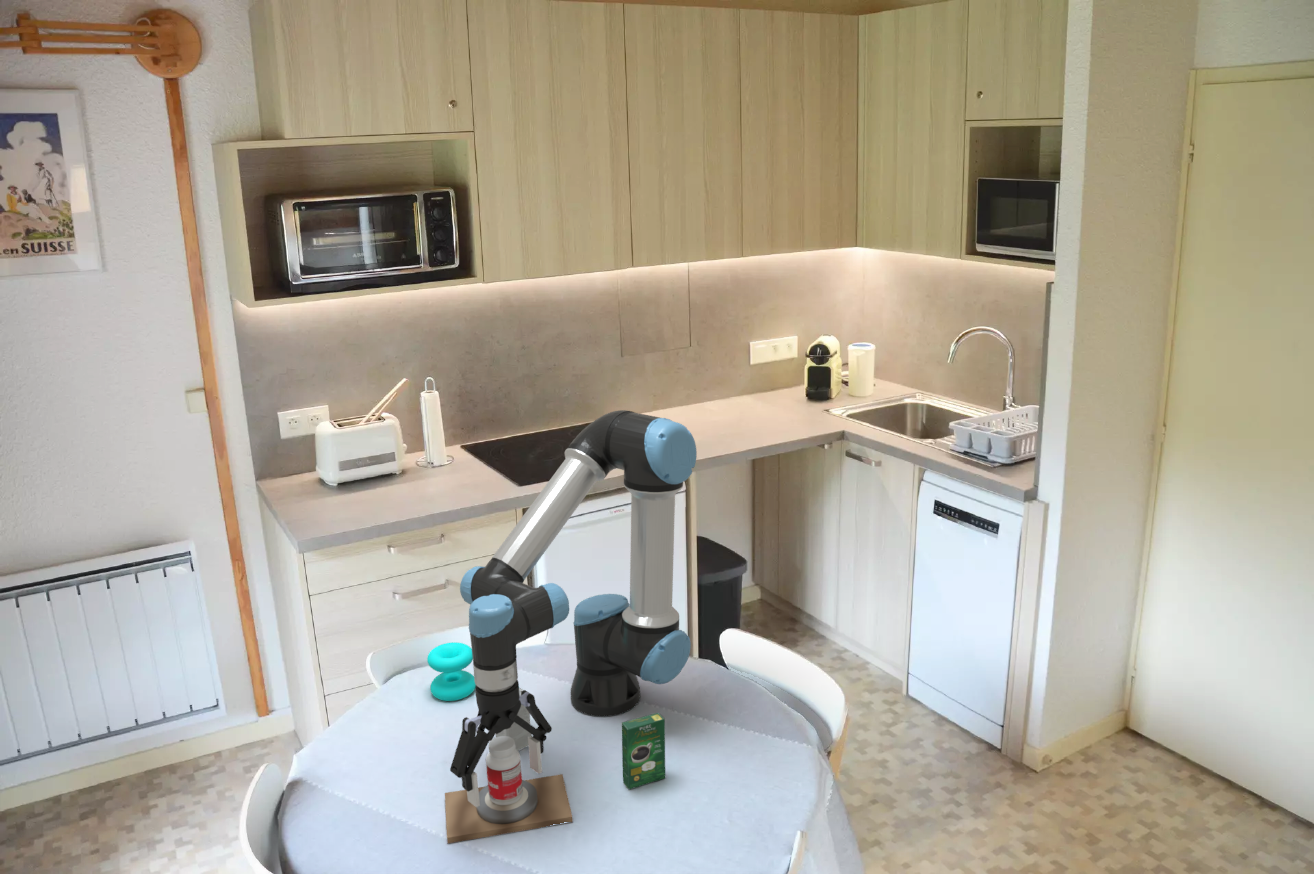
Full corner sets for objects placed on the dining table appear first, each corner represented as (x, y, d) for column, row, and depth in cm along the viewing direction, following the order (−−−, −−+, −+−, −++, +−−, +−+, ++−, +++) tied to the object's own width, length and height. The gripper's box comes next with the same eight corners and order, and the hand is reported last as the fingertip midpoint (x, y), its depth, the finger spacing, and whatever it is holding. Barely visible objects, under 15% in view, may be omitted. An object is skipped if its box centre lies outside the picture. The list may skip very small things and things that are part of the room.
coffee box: (660, 770, 198) (658, 710, 195) (667, 778, 196) (665, 717, 192) (622, 782, 195) (619, 721, 191) (628, 791, 193) (625, 729, 189)
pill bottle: (485, 791, 189) (480, 739, 186) (517, 782, 191) (512, 729, 188) (494, 810, 184) (490, 756, 180) (527, 800, 186) (523, 747, 183)
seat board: (562, 779, 197) (561, 766, 196) (572, 822, 184) (571, 808, 184) (445, 798, 192) (443, 785, 191) (447, 843, 180) (445, 829, 179)
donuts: (432, 640, 231) (476, 639, 231) (436, 680, 234) (480, 679, 233) (422, 662, 221) (468, 661, 221) (426, 704, 224) (472, 703, 224)
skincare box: (519, 736, 211) (515, 684, 208) (532, 744, 208) (528, 691, 205) (495, 748, 207) (490, 696, 204) (508, 757, 204) (503, 703, 201)
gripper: (446, 718, 170) (457, 827, 176) (566, 663, 186) (572, 765, 192) (422, 701, 175) (434, 808, 181) (541, 649, 191) (548, 749, 197)
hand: (505, 786), depth 187 cm, fingers open, 13 cm apart
